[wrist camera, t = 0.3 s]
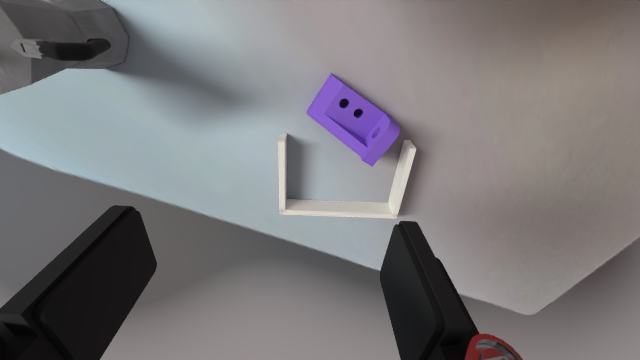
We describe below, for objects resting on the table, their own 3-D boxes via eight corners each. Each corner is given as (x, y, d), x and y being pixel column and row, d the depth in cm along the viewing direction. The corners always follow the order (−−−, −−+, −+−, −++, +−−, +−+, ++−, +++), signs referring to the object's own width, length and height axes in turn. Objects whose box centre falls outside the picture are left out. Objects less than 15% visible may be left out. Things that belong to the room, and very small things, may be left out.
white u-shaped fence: (280, 133, 44) (278, 141, 41) (409, 140, 45) (416, 148, 42) (281, 202, 51) (279, 214, 48) (391, 207, 53) (396, 218, 50)
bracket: (390, 115, 43) (403, 131, 37) (364, 147, 46) (372, 166, 40) (331, 72, 39) (334, 82, 34) (306, 110, 42) (305, 125, 36)
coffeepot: (54, 62, 38) (-123, 93, 22) (25, -20, 33) (-229, -52, 17) (167, 77, 39) (73, 115, 24) (155, 0, 34) (26, -13, 19)
